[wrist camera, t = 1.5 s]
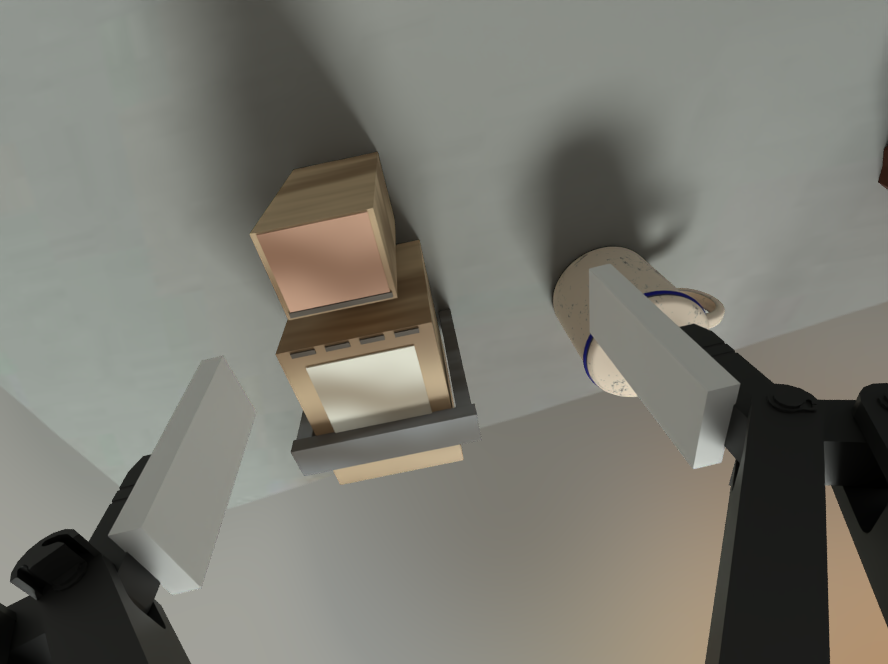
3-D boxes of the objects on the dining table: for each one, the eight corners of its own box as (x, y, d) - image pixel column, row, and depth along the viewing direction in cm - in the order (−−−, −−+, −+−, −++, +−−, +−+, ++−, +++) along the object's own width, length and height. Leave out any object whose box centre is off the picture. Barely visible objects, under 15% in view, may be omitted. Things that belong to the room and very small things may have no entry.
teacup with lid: (549, 341, 42) (597, 433, 32) (547, 252, 37) (604, 331, 27) (675, 317, 42) (760, 403, 32) (690, 226, 37) (798, 295, 27)
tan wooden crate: (288, 267, 35) (244, 371, 24) (438, 235, 35) (460, 326, 24) (336, 380, 42) (318, 501, 31) (461, 354, 42) (486, 467, 31)
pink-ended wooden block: (293, 169, 31) (248, 234, 21) (377, 151, 31) (372, 208, 21) (317, 236, 34) (288, 321, 24) (394, 219, 34) (397, 298, 24)
